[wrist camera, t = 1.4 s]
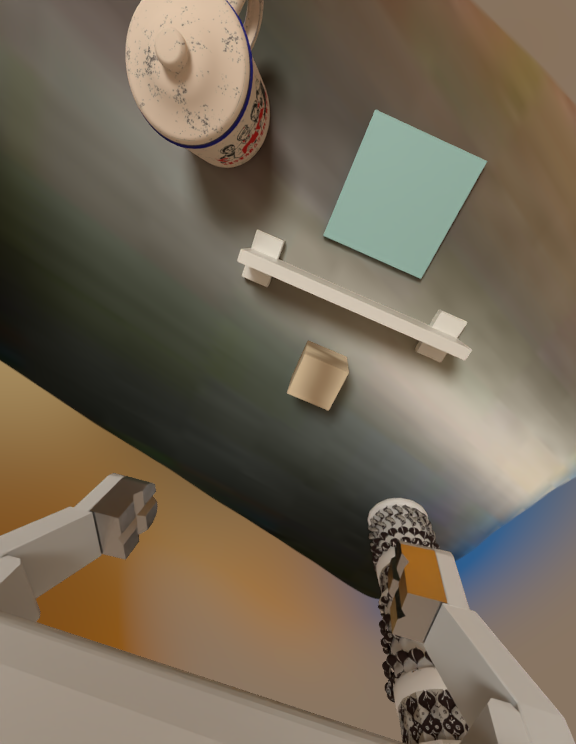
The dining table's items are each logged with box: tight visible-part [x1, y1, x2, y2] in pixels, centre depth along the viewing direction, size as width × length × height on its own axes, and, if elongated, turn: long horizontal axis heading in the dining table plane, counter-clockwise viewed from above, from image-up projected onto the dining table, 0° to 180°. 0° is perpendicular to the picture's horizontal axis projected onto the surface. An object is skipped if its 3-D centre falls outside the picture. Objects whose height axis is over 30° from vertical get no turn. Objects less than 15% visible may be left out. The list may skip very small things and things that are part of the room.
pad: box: [323, 110, 487, 279], centre depth 31 cm, size 11×11×1 cm
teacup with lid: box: [126, 0, 270, 168], centre depth 24 cm, size 12×9×12 cm
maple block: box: [287, 341, 349, 411], centre depth 36 cm, size 5×5×5 cm
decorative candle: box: [368, 498, 469, 744], centre depth 34 cm, size 9×9×25 cm
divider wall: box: [237, 230, 472, 363], centre depth 32 cm, size 24×5×5 cm, turn 68°
